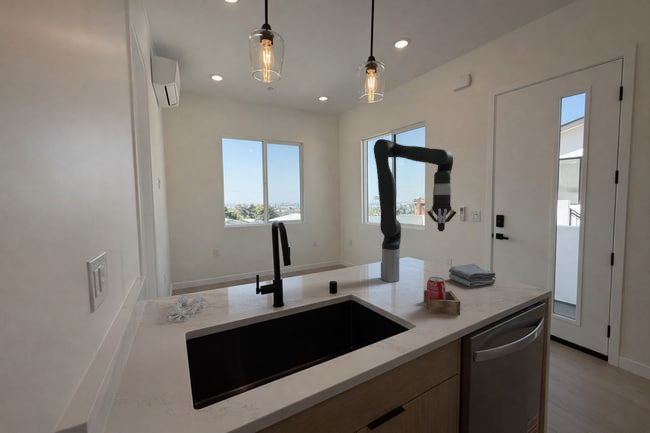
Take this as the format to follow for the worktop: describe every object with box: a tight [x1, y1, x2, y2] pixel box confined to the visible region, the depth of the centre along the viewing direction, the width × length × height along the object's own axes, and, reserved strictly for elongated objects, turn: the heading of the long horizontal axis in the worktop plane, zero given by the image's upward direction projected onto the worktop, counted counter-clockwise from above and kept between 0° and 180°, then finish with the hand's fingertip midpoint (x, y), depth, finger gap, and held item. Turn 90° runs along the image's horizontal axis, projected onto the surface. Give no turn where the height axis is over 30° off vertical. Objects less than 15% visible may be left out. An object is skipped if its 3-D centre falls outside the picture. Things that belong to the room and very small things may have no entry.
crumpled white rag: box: [164, 295, 210, 323], centre depth 111 cm, size 19×14×4 cm
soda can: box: [426, 276, 447, 308], centre depth 112 cm, size 7×7×12 cm
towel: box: [448, 263, 497, 288], centre depth 146 cm, size 15×18×8 cm
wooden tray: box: [423, 289, 461, 315], centre depth 113 cm, size 11×12×5 cm
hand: (441, 231), depth 129 cm, fingers closed
